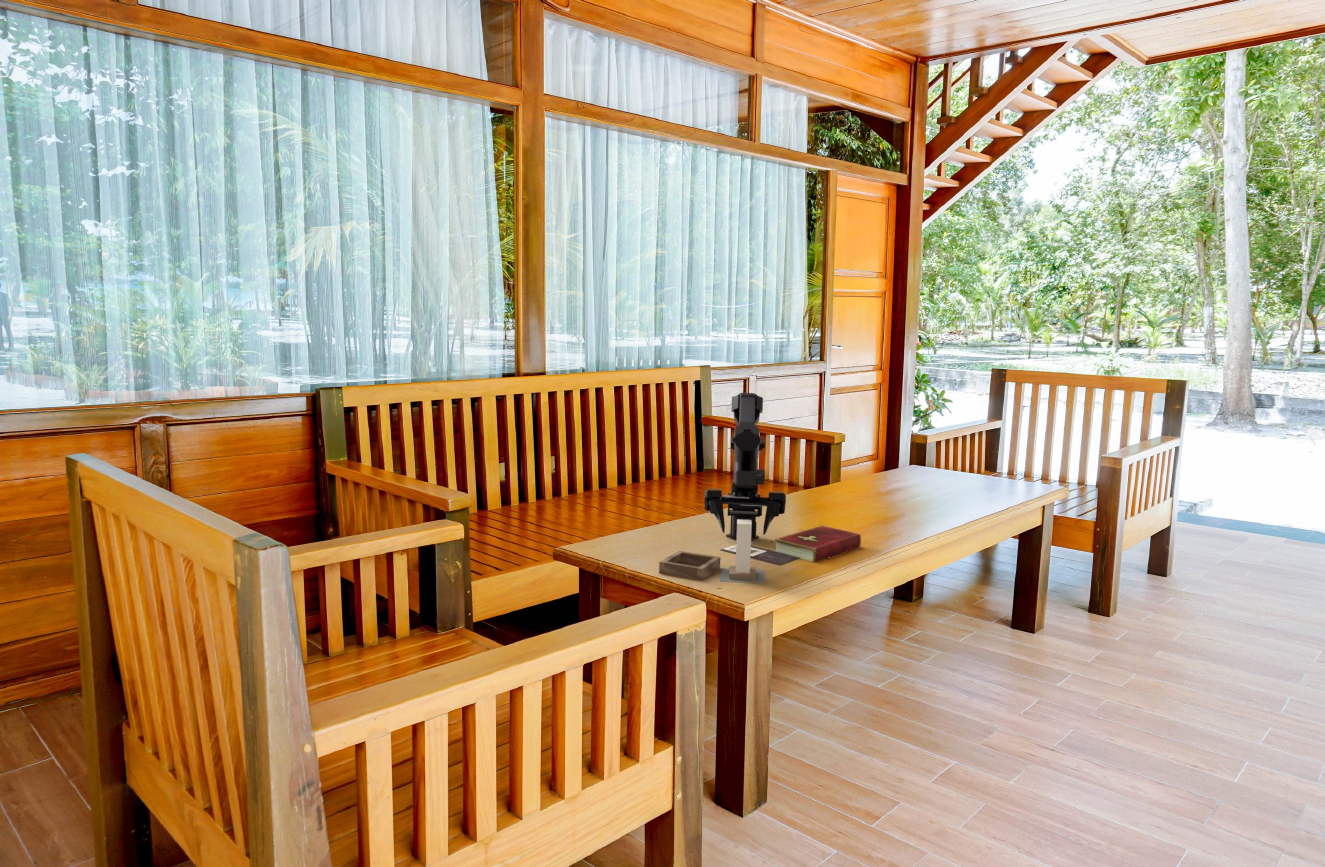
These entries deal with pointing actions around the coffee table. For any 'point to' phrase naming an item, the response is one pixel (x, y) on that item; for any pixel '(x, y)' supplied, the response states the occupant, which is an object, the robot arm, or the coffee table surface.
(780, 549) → the hardcover book
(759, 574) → the mat
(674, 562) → the brown square tray
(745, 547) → the grey tall square post
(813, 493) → the coffee table surface
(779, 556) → the chocolate bar
